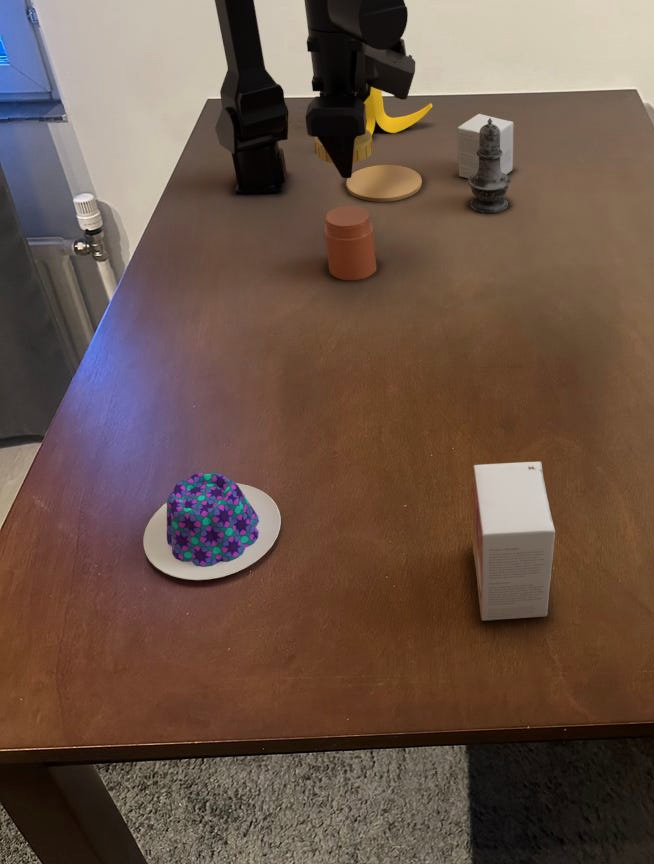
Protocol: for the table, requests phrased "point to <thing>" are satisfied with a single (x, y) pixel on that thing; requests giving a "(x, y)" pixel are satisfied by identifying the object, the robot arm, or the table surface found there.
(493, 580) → the small box
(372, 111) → the banana peel
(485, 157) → the grey tall turned piece
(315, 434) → the table surface
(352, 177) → the coaster
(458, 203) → the table surface
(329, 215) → the jar
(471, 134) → the product box
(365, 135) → the jar lid
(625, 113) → the table surface
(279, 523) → the pudding
